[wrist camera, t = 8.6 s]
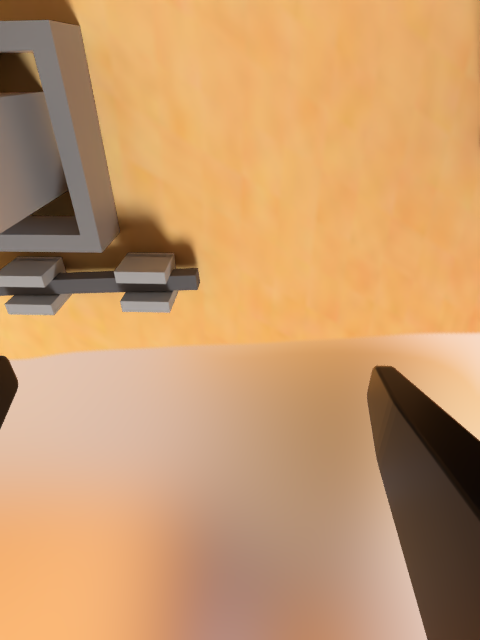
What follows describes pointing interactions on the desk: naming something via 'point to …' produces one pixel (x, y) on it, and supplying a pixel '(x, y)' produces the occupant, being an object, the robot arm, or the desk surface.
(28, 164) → the block
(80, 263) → the desk surface
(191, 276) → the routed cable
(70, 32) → the frame
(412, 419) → the robot arm
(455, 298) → the desk surface
